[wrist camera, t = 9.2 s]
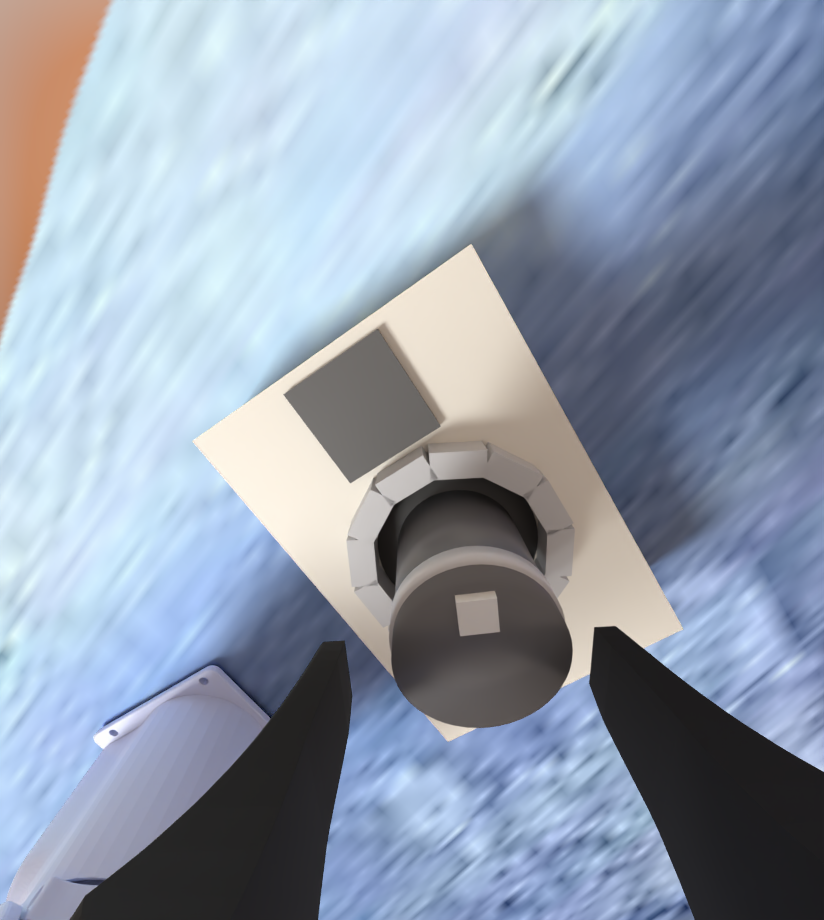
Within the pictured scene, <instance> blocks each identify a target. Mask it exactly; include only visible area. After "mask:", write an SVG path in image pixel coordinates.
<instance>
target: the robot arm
mask: <svg viewBox="0 0 824 920" xmlns="http://www.w3.org/2000/svg"><path fill="white" fill-rule="evenodd" d="M205 678H206V679H205ZM589 684H590V687H591V689H592V692H593V695H594V698H595V700H596V703H597V706H598V708H599V711H600V713H601V716H602V718H603V721H604V723H605V725H606V727H607V729H608V731H609V733H610V735H611V737H612V739H613V741H614V743H615V745H616V747H617V749H618V751H619V753H620V755H621V757H622V759H623V761H624V763H625V765H626V767H627V768H628V770H629V772H630V774H631V776H632V778H633V780H634V782H635V784H636V786H637V788H638V790H639V792H640V794H641V796H642V798H643V800H644V802H645V804H646V805H647V807H648V809H649V811H650V814H651V816H652V818H653V820H654V822H655V824H656V826H657V828H658V831H659V833H660V835H661V838H662V840H663V842H664V845H665V847H666V850H667V852H668V854H669V857H670V859H671V862H672V864H673V866H674V869H675V871H676V874H677V876H678V878H679V881H680V883H681V886H682V888H683V891H684V893H685V896H686V898H687V901H688V904H689V906H690V909H691V911H692V914H693V916H694V919H695V920H824V772H823V771H821V770H819V769H817V768H816V767H814V766H812V765H810V764H809V763H807V762H805V761H803V760H802V759H800V758H798V757H796V756H795V755H793V754H791V753H790V752H788V751H786V750H785V749H783V748H781V747H780V746H778V745H776V744H775V743H773V742H771V741H770V740H768V739H767V738H765V737H764V736H762V735H760V734H759V733H757V732H756V731H754V730H753V729H751V728H749V727H748V726H746V725H745V724H743V723H742V722H740V721H739V720H737V719H736V718H734V717H733V716H731V715H730V714H728V713H727V712H726V711H724V710H723V709H721V708H720V707H719V706H717V705H716V704H714V703H713V702H712V701H710V700H709V699H707V698H706V697H705V696H703V695H702V694H701V693H699V692H698V691H697V690H695V689H694V688H693V687H691V686H690V685H689V684H687V683H686V682H685V681H683V680H682V679H681V678H679V677H678V676H677V675H676V674H674V673H673V672H672V671H671V670H669V669H668V668H667V667H665V666H664V665H663V664H662V663H660V662H659V661H658V660H657V659H656V658H654V657H653V656H652V655H651V654H649V653H648V652H647V651H646V650H645V649H643V648H642V647H641V646H640V645H638V644H637V643H636V642H635V641H634V640H632V639H631V638H630V637H629V636H628V635H626V634H625V633H624V632H623V631H621V630H620V629H619V628H618V627H616V626H606V627H594V635H593V646H592V658H591V669H590V681H589ZM351 703H352V691H351V684H350V676H349V669H348V662H347V655H346V647H345V641H331V642H323V643H322V644H321V645H320V647H319V649H318V650H317V652H316V653H315V655H314V657H313V658H312V660H311V662H310V663H309V665H308V666H307V668H306V669H305V671H304V672H303V674H302V676H301V677H300V679H299V680H298V682H297V683H296V684H295V686H294V687H293V689H292V690H291V692H290V693H289V694H288V696H287V697H286V699H285V700H284V702H283V703H282V704H281V706H280V707H279V708H278V710H277V711H276V712H275V714H274V715H273V716H272V718H270V717H269V716H268V715H267V714H266V713H265V712H264V711H263V710H262V709H261V708H260V707H259V706H258V705H256V704H255V703H254V702H253V701H252V700H251V699H250V698H249V697H248V696H247V695H246V694H245V693H244V692H243V691H242V690H241V689H240V688H239V687H238V686H237V685H236V684H235V683H234V682H233V681H232V680H231V679H230V678H229V677H228V676H227V675H226V674H225V673H224V672H223V671H222V670H221V669H220V668H219V667H218V666H215V665H210V666H207V667H206V668H204V669H202V670H200V671H199V672H197V673H195V674H194V675H192V676H190V677H188V678H187V679H185V680H183V681H181V682H180V683H178V684H176V685H175V686H173V687H171V688H169V689H168V690H166V691H164V692H163V693H161V694H159V695H157V696H156V697H154V698H152V699H151V700H149V701H147V702H145V703H144V704H142V705H140V706H138V707H137V708H135V709H133V710H132V711H130V712H128V713H126V714H125V715H123V716H121V717H120V718H118V719H116V720H114V721H113V722H111V723H109V724H107V725H106V726H104V727H102V728H101V729H99V730H98V731H97V732H96V734H95V735H94V741H95V742H96V743H97V744H98V745H99V746H100V747H101V748H103V750H102V752H101V753H100V755H99V756H98V757H97V759H96V760H95V762H94V763H93V764H92V766H91V767H90V769H89V770H88V771H87V773H86V774H85V776H84V777H83V778H82V780H81V781H80V782H79V784H78V785H77V787H76V788H75V789H74V791H73V792H72V794H71V795H70V796H69V798H68V799H67V801H66V802H65V803H64V805H63V806H62V808H61V809H60V810H59V812H58V813H57V814H56V816H55V817H54V819H53V820H52V821H51V823H50V824H49V826H48V827H47V828H46V830H45V831H44V833H43V834H42V835H41V837H40V838H39V840H38V841H37V842H36V844H35V845H34V846H33V848H32V849H31V851H30V852H29V853H28V855H27V856H26V858H25V859H24V861H23V863H22V864H21V866H20V868H19V869H18V871H17V873H16V875H15V877H14V879H13V882H12V884H11V887H10V889H9V892H8V895H7V899H6V902H4V903H2V904H0V920H318V914H319V905H320V896H321V888H322V880H323V872H324V863H325V855H326V847H327V841H328V835H329V829H330V824H331V819H332V814H333V809H334V804H335V799H336V794H337V789H338V784H339V779H340V774H341V769H342V764H343V759H344V754H345V749H346V744H347V739H348V734H349V724H350V714H351Z"/></svg>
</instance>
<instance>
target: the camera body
mask: <svg viewBox="0 0 824 920" xmlns="http://www.w3.org/2000/svg"><path fill="white" fill-rule="evenodd" d="M192 442H193V443H194V444H195V445H196V446H197V447H198V449H199V450H200V451H201V452H202V453H203V454H204V456H205V457H206V458H207V459H208V460H209V461H210V463H211V464H212V465H213V466H214V467H215V469H216V470H217V471H218V472H219V473H220V474H221V476H222V477H223V478H224V479H225V480H226V481H227V483H228V484H229V485H230V486H231V487H232V489H233V490H234V491H235V492H236V493H237V494H238V496H239V497H240V498H241V499H242V500H243V501H244V503H245V504H246V505H247V506H248V507H249V509H250V510H251V511H252V512H253V513H254V514H255V516H256V517H257V518H258V519H259V520H260V521H261V523H262V524H263V525H264V526H265V527H266V528H267V530H268V531H269V532H270V533H271V534H272V536H273V537H274V538H275V539H276V540H277V541H278V543H279V544H280V545H281V546H282V547H283V548H284V550H285V551H286V552H287V553H288V554H289V556H290V557H291V558H292V559H293V560H294V561H295V563H296V564H297V565H298V566H299V567H300V568H301V570H302V571H303V572H304V573H305V574H306V576H307V577H308V578H309V579H310V580H311V581H312V583H313V584H314V585H315V586H316V587H317V588H318V590H319V591H320V592H321V593H322V594H323V595H324V597H325V598H326V599H327V600H328V601H329V603H330V604H331V605H332V606H333V607H334V608H335V610H336V611H337V612H338V613H339V614H340V615H341V617H342V618H343V619H344V620H345V621H346V623H347V624H348V625H349V626H350V627H351V628H352V630H353V631H354V632H355V633H356V634H357V635H358V637H359V638H360V639H361V640H362V641H363V642H364V644H365V645H366V646H367V647H368V648H369V650H370V651H371V652H372V653H373V654H374V655H375V657H376V658H377V659H378V660H379V661H380V662H381V664H382V665H383V666H384V667H385V668H386V670H387V671H388V672H389V673H390V674H391V675H392V677H393V678H394V675H393V671H392V664H391V651H390V645H389V627H390V613H391V607H392V602H393V599H394V597H395V585H396V568H397V551H398V537H399V533H400V530H401V527H402V524H403V522H404V521H405V519H406V517H407V516H408V515H409V513H410V512H411V511H412V510H413V509H414V508H415V507H416V506H417V505H418V504H420V503H421V502H422V501H424V500H425V499H427V498H429V497H431V496H433V495H435V494H438V493H442V492H446V491H451V490H469V491H474V492H478V493H481V494H484V495H486V496H489V497H491V498H492V499H494V500H495V501H497V502H498V503H499V504H501V505H502V506H503V507H504V508H505V509H506V510H507V512H508V513H509V515H510V516H511V518H512V519H513V521H514V523H515V525H516V527H517V529H518V531H519V533H520V535H521V537H522V539H523V541H524V543H525V545H526V547H527V549H528V551H529V552H530V554H531V556H532V558H533V560H534V562H535V564H536V566H537V568H538V569H539V571H540V572H541V573H542V574H543V575H544V576H545V578H546V579H547V581H548V582H549V584H550V586H551V588H552V590H553V591H554V593H555V595H556V597H557V599H558V601H559V603H560V605H561V608H562V610H563V613H564V617H565V623H566V625H567V627H568V629H569V632H570V635H571V639H572V646H573V656H572V663H571V667H570V671H569V673H568V676H567V678H566V680H565V682H564V683H563V685H562V687H564V686H566V685H568V684H570V683H572V682H574V681H576V680H578V679H580V678H582V677H585V676H587V675H589V674H590V669H591V658H592V646H593V635H594V627H606V626H616V627H618V628H619V629H620V630H621V631H623V632H624V633H625V634H626V635H628V636H629V637H630V638H631V639H632V640H634V641H635V642H636V643H637V644H638V645H640V646H641V647H642V648H645V647H647V646H649V645H651V644H653V643H656V642H658V641H660V640H662V639H664V638H666V637H668V636H670V635H672V634H674V633H676V632H678V631H681V630H683V627H682V626H681V624H680V622H679V620H678V618H677V617H676V615H675V613H674V611H673V609H672V607H671V606H670V604H669V602H668V600H667V598H666V597H665V595H664V593H663V591H662V589H661V588H660V586H659V584H658V582H657V580H656V578H655V577H654V575H653V573H652V571H651V569H650V568H649V566H648V564H647V562H646V560H645V558H644V557H643V555H642V553H641V551H640V549H639V548H638V546H637V544H636V542H635V540H634V538H633V537H632V535H631V533H630V531H629V529H628V528H627V526H626V524H625V522H624V520H623V518H622V517H621V515H620V513H619V511H618V509H617V508H616V506H615V504H614V502H613V500H612V498H611V497H610V495H609V493H608V491H607V489H606V488H605V486H604V484H603V482H602V480H601V478H600V477H599V475H598V473H597V471H596V469H595V468H594V466H593V464H592V462H591V460H590V458H589V457H588V455H587V453H586V451H585V449H584V448H583V446H582V444H581V442H580V440H579V438H578V437H577V435H576V433H575V431H574V429H573V428H572V426H571V424H570V422H569V420H568V418H567V417H566V415H565V413H564V411H563V409H562V408H561V406H560V404H559V402H558V400H557V398H556V397H555V395H554V393H553V391H552V389H551V388H550V386H549V384H548V382H547V380H546V378H545V377H544V375H543V373H542V371H541V369H540V368H539V366H538V364H537V362H536V360H535V358H534V357H533V355H532V353H531V351H530V349H529V348H528V346H527V344H526V342H525V340H524V338H523V337H522V335H521V333H520V331H519V329H518V328H517V326H516V324H515V322H514V320H513V318H512V317H511V315H510V313H509V311H508V309H507V308H506V306H505V304H504V302H503V300H502V298H501V297H500V295H499V293H498V291H497V289H496V288H495V286H494V284H493V282H492V280H491V278H490V277H489V275H488V273H487V271H486V269H485V268H484V266H483V264H482V262H481V260H480V258H479V257H478V255H477V253H476V251H475V249H474V248H473V246H472V244H470V245H469V246H467V247H466V248H465V249H463V250H462V251H460V252H459V253H458V254H456V255H455V256H453V257H452V258H450V259H449V260H448V261H446V262H445V263H443V264H442V265H441V266H439V267H438V268H436V269H435V270H434V271H432V272H431V273H429V274H428V275H426V276H425V277H424V278H422V279H421V280H419V281H418V282H417V283H415V284H414V285H412V286H411V287H409V288H408V289H407V290H405V291H404V292H402V293H401V294H400V295H398V296H397V297H395V298H394V299H393V300H391V301H390V302H388V303H387V304H385V305H384V306H383V307H381V308H380V309H378V310H377V311H376V312H374V313H373V314H371V315H370V316H368V317H367V318H366V319H364V320H363V321H361V322H360V323H359V324H357V325H356V326H354V327H353V328H352V329H350V330H349V331H347V332H346V333H344V334H343V335H342V336H340V337H339V338H337V339H336V340H335V341H333V342H332V343H330V344H329V345H327V346H326V347H325V348H323V349H322V350H320V351H319V352H318V353H316V354H315V355H313V356H312V357H310V358H309V359H308V360H306V361H305V362H303V363H302V364H301V365H299V366H298V367H296V368H295V369H294V370H292V371H291V372H289V373H288V374H286V375H285V376H284V377H282V378H281V379H279V380H278V381H277V382H275V383H274V384H272V385H271V386H269V387H268V388H267V389H265V390H264V391H262V392H261V393H260V394H258V395H257V396H255V397H254V398H253V399H251V400H250V401H248V402H247V403H245V404H244V405H243V406H241V407H240V408H238V409H237V410H236V411H234V412H233V413H231V414H230V415H228V416H227V417H226V418H224V419H223V420H221V421H220V422H219V423H217V424H216V425H214V426H213V427H212V428H210V429H209V430H207V431H206V432H204V433H203V434H202V435H200V436H199V437H197V438H196V439H195V440H193V441H192ZM562 687H561V688H562ZM426 717H427V718H428V719H429V720H430V721H431V722H432V724H433V725H434V726H435V727H436V728H437V729H438V731H439V732H440V733H441V734H442V735H443V737H444V738H445V739H446V740H447V741H448V742H449V741H451V740H453V739H455V738H457V737H459V736H461V735H464V734H466V733H468V732H470V731H472V730H474V729H476V728H467V727H460V726H454V725H450V724H446V723H443V722H441V721H438V720H435V719H433V718H431V717H429V716H427V715H426Z"/></svg>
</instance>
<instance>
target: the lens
mask: <svg viewBox="0 0 824 920" xmlns="http://www.w3.org/2000/svg"><path fill="white" fill-rule="evenodd" d="M389 645H390V651H391V664H392V671H393V675H394V679H395V681H396V683H397V685H398V687H399V689H400V691H401V692H402V694H403V695H404V696H405V697H406V699H407V700H408V701H409V702H410V703H411V704H412V705H413V706H414V707H416V708H417V709H418V710H419V711H421V712H422V713H424V714H425V715H427V716H429V717H431V718H433V719H435V720H438V721H441V722H443V723H446V724H450V725H454V726H460V727H467V728H486V727H494V726H501V725H504V724H508V723H512V722H515V721H517V720H520V719H522V718H524V717H526V716H528V715H531V714H532V713H534V712H535V711H537V710H539V709H540V708H541V707H543V706H544V705H545V704H546V703H548V702H549V701H550V700H551V699H552V698H553V697H554V696H555V695H556V693H557V692H558V691H559V689H560V688H561V687H562V685H563V683H564V682H565V680H566V678H567V676H568V673H569V671H570V667H571V663H572V656H573V646H572V639H571V635H570V632H569V629H568V627H567V625H566V623H565V617H564V613H563V610H562V608H561V605H560V603H559V601H558V599H557V597H556V595H555V593H554V591H553V590H552V588H551V586H550V584H549V582H548V581H547V579H546V578H545V576H544V575H543V574H542V573H541V572H540V571H539V569H538V568H537V566H536V564H535V562H534V560H533V558H532V556H531V554H530V552H529V551H528V549H527V547H526V545H525V543H524V541H523V539H522V537H521V535H520V533H519V531H518V529H517V527H516V525H515V523H514V521H513V519H512V518H511V516H510V515H509V513H508V512H507V510H506V509H505V508H504V507H503V506H502V505H501V504H499V503H498V502H497V501H495V500H494V499H492V498H491V497H489V496H486V495H484V494H481V493H478V492H474V491H469V490H451V491H446V492H442V493H438V494H435V495H433V496H431V497H429V498H427V499H425V500H424V501H422V502H421V503H420V504H418V505H417V506H416V507H415V508H414V509H413V510H412V511H411V512H410V513H409V515H408V516H407V517H406V519H405V521H404V522H403V524H402V527H401V530H400V533H399V537H398V551H397V568H396V585H395V597H394V599H393V602H392V607H391V613H390V627H389Z"/></svg>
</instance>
